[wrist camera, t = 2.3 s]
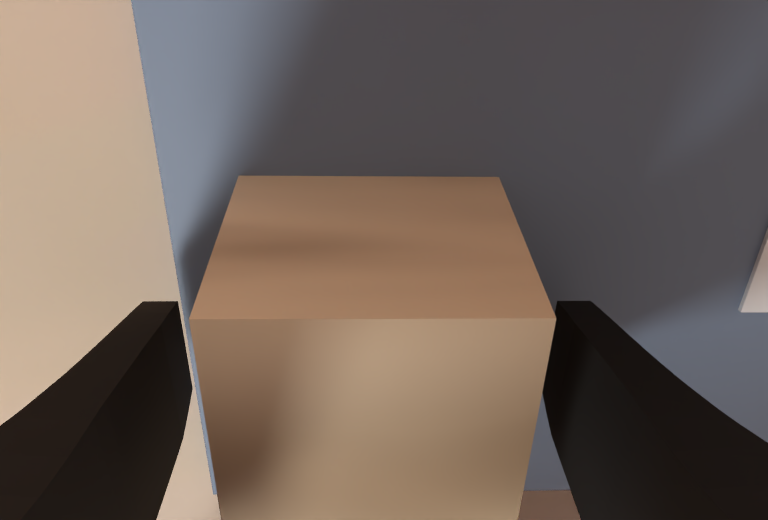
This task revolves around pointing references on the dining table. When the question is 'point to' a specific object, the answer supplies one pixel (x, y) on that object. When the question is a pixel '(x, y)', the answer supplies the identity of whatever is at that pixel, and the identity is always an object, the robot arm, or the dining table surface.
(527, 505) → the dining table surface
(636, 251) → the slate board
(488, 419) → the oak brick
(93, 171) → the dining table surface
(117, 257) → the dining table surface
